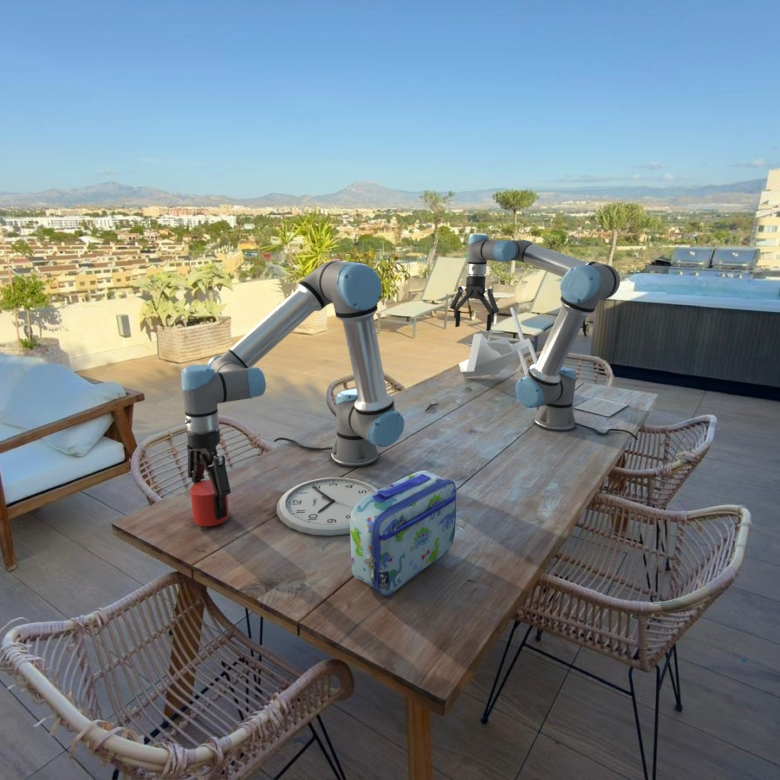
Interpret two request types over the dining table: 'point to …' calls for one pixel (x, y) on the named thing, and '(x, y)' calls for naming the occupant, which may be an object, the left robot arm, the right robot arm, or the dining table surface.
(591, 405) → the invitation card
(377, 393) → the left robot arm
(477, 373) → the white plastic object
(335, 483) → the wall clock
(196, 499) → the canister
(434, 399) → the fork
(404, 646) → the dining table surface
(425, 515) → the lunch box
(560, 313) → the right robot arm
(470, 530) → the dining table surface
